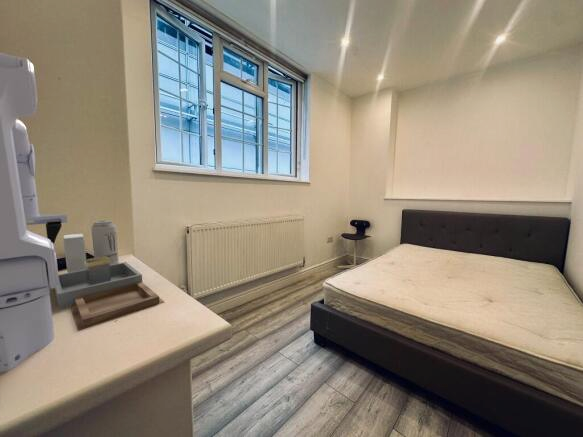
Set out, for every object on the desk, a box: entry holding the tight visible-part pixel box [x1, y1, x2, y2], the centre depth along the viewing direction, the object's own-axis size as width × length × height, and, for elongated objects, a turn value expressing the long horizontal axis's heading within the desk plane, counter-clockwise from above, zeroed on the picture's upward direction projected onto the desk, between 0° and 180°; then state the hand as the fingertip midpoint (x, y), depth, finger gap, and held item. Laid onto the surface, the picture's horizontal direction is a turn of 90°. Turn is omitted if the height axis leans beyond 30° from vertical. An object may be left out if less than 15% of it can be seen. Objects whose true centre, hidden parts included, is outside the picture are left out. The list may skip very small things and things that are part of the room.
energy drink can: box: [91, 220, 120, 265], centre depth 74 cm, size 6×6×15 cm
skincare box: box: [62, 233, 87, 273], centre depth 67 cm, size 6×4×12 cm
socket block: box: [69, 281, 166, 332], centre depth 50 cm, size 14×14×2 cm
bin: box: [53, 261, 143, 309], centre depth 58 cm, size 15×15×4 cm
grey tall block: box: [84, 256, 111, 286], centre depth 58 cm, size 4×4×7 cm
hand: (25, 257), depth 52 cm, fingers open, 7 cm apart
